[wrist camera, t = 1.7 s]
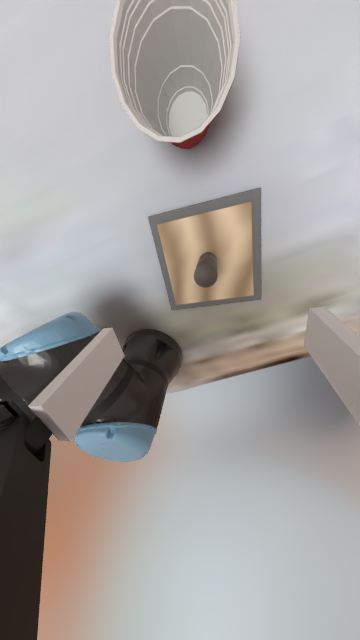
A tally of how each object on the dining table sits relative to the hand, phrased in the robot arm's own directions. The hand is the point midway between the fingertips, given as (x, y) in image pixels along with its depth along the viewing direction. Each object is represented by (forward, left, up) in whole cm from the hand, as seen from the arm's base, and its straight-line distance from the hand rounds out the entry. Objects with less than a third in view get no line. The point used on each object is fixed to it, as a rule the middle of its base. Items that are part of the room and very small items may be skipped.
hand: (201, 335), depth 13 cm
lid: (0, 0, -24) cm, 24 cm away
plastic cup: (0, +19, -25) cm, 31 cm away
